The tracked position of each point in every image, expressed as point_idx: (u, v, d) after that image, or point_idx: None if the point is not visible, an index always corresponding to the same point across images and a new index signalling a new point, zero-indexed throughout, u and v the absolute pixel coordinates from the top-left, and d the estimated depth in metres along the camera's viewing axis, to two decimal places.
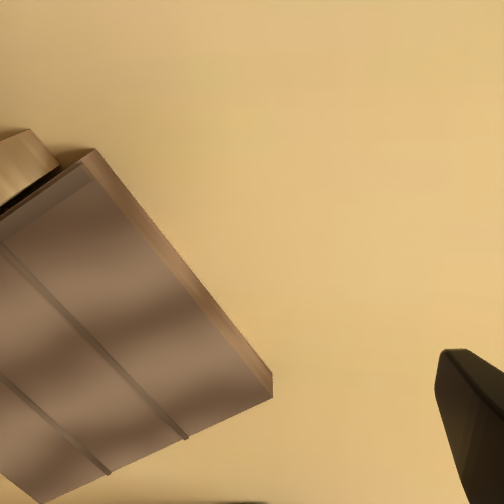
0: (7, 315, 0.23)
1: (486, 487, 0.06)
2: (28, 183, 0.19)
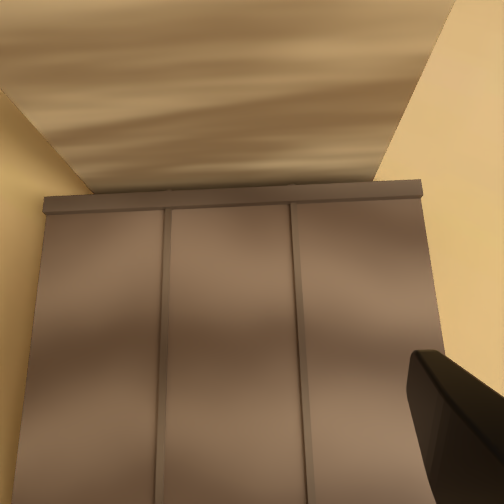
0: (238, 269, 0.21)
1: (450, 487, 0.06)
2: (380, 162, 0.21)
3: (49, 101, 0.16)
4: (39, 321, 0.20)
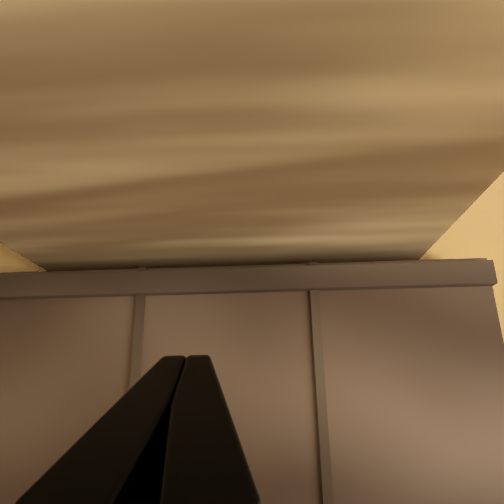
0: (236, 386, 0.14)
1: None
2: (437, 238, 0.15)
3: None
4: None
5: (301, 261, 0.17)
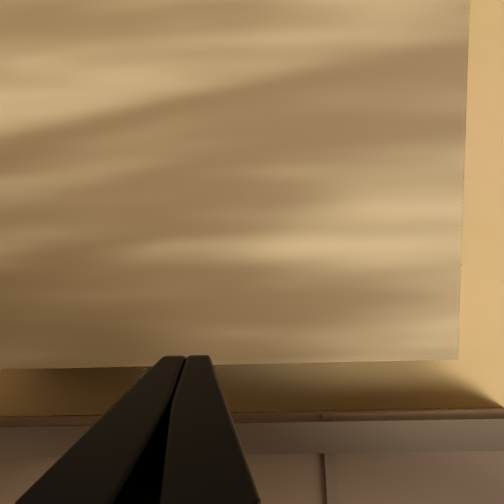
0: None
1: None
2: (460, 255, 0.13)
3: (5, 71, 0.13)
4: None
5: (311, 321, 0.13)
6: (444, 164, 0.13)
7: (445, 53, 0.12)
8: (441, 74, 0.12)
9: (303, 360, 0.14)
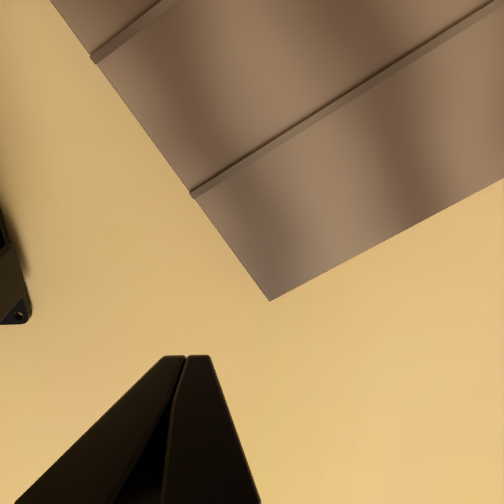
0: None
1: None
2: None
3: None
4: None
5: None
6: None
7: None
8: None
9: None
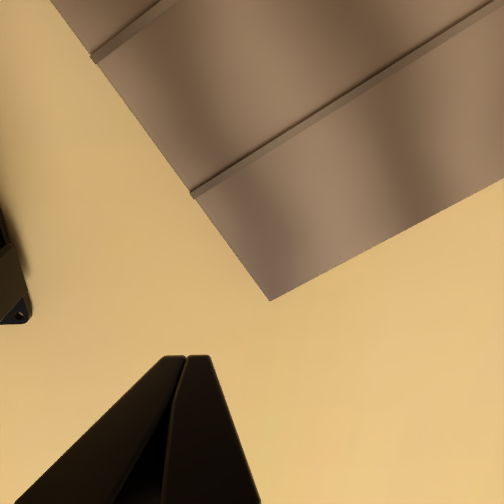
0: None
1: None
2: None
3: None
4: None
5: None
6: None
7: None
8: None
9: None
